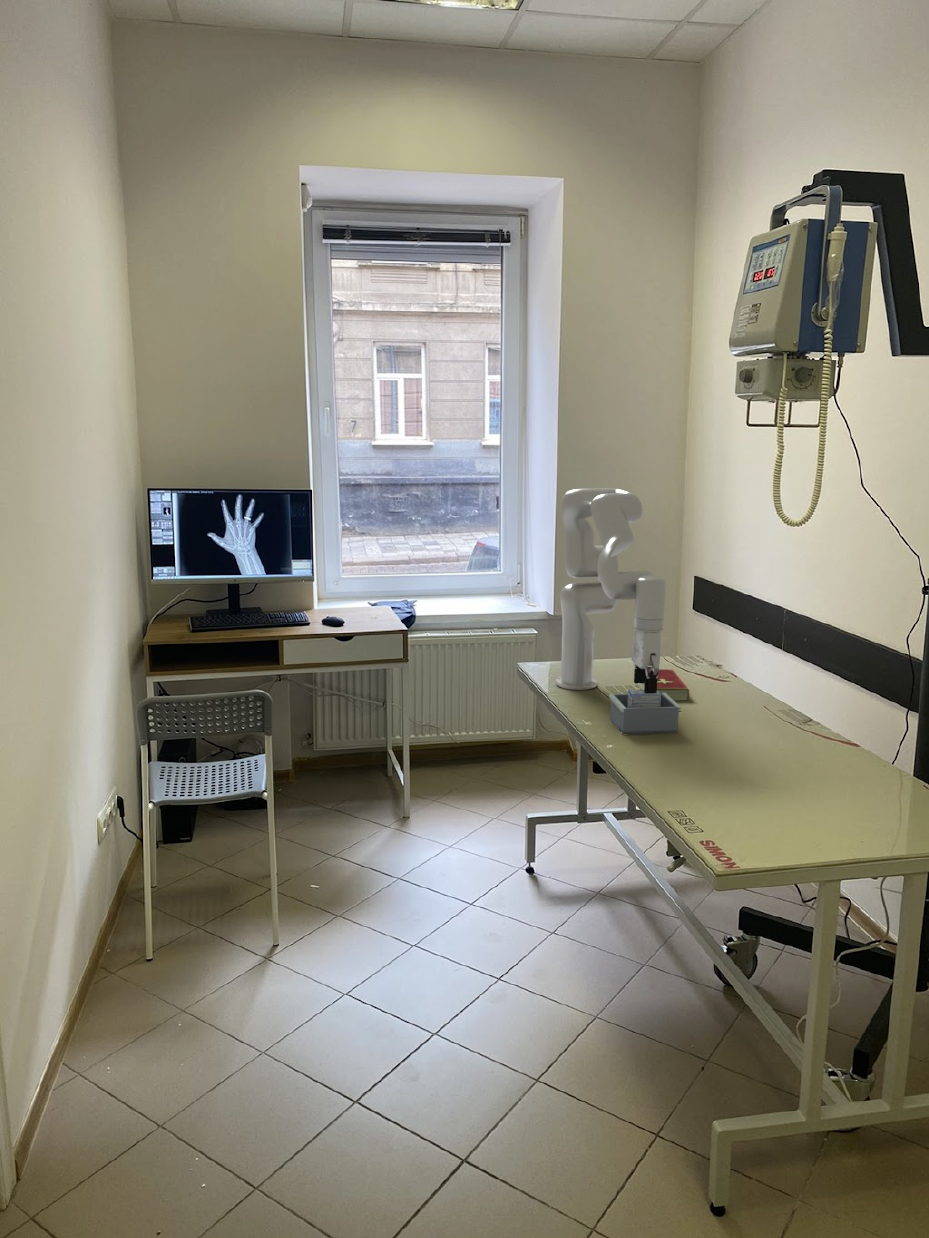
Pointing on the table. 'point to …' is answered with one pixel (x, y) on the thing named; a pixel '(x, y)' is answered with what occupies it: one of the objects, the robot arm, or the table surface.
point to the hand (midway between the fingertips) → (645, 687)
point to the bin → (644, 716)
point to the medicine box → (643, 699)
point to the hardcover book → (670, 685)
